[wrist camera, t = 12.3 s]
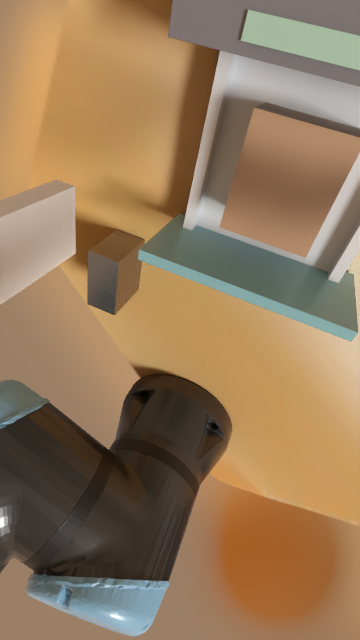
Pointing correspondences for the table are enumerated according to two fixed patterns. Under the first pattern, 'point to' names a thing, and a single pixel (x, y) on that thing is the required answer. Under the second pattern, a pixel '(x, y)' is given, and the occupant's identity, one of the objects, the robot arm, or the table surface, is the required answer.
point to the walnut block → (288, 177)
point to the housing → (277, 32)
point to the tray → (245, 253)
